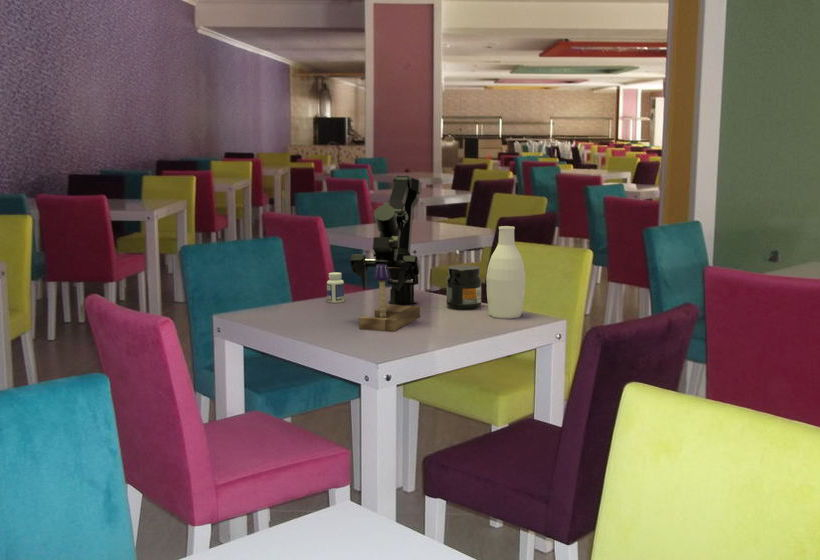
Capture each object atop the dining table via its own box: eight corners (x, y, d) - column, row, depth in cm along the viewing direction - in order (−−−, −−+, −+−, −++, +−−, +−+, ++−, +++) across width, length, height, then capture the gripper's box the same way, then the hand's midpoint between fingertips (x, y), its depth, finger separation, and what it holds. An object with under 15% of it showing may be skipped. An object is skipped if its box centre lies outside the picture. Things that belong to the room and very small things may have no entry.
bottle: (531, 318, 261) (533, 228, 257) (494, 320, 258) (495, 229, 254) (515, 310, 271) (517, 224, 267) (480, 313, 268) (481, 225, 264)
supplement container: (487, 309, 274) (487, 269, 272) (454, 311, 271) (454, 271, 269) (472, 303, 284) (473, 264, 282) (440, 305, 280) (441, 266, 279)
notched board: (359, 328, 247) (358, 317, 247) (387, 314, 266) (387, 304, 266) (393, 331, 244) (393, 320, 243) (419, 316, 263) (419, 306, 262)
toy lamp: (383, 327, 249) (383, 265, 246) (369, 325, 252) (369, 264, 249) (394, 324, 253) (394, 264, 250) (380, 322, 256) (381, 262, 253)
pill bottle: (345, 300, 289) (345, 272, 288) (342, 303, 284) (342, 274, 283) (328, 299, 290) (328, 271, 288) (325, 302, 285) (325, 274, 283)
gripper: (350, 225, 253) (341, 271, 244) (417, 226, 250) (411, 272, 241) (357, 249, 262) (348, 295, 253) (422, 251, 259) (416, 297, 250)
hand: (380, 289), depth 249 cm, fingers open, 9 cm apart
